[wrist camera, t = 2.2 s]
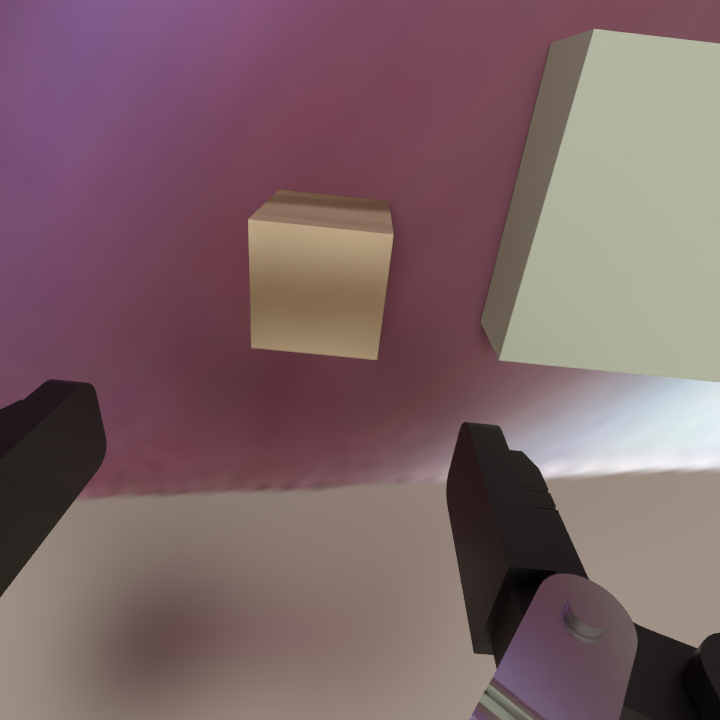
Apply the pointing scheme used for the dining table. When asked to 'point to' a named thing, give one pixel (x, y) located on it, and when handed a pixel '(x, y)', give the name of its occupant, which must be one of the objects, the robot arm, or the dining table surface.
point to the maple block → (319, 273)
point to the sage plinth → (616, 213)
